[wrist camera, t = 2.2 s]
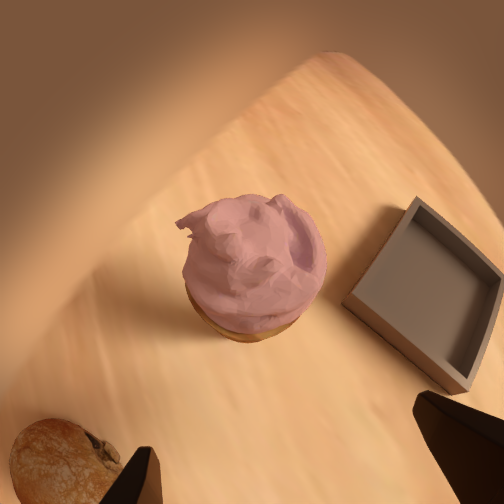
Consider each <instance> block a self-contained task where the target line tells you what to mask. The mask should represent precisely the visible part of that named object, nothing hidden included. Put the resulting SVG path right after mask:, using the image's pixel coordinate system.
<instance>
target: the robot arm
mask: <svg viewBox="0 0 504 504" xmlns="http://www.w3.org/2000/svg"><path fill="white" fill-rule="evenodd" d="M413 416H414V418H415V420H416V422H417V424H418V427H419V429H420V431H421V433H422V435H423V438H424V440H425V442H426V444H427V446H428V448H429V450H430V451H431V453H432V455H433V456H434V458H435V460H436V462H437V463H438V465H439V467H440V468H441V470H442V472H443V474H444V475H445V477H446V479H447V480H448V482H449V484H450V486H451V487H452V489H453V491H454V493H455V495H456V496H457V498H458V500H459V502H460V504H504V420H502V419H500V418H497V417H494V416H492V415H489V414H486V413H484V412H481V411H479V410H476V409H473V408H471V407H468V406H466V405H463V404H461V403H458V402H456V401H453V400H451V399H448V398H446V397H444V396H441V395H439V394H436V393H434V392H432V391H429V390H427V391H424V392H421V393H419V394H418V395H417V398H416V401H415V404H414V406H413ZM99 504H163V498H162V486H161V472H160V463H159V460H158V458H157V456H156V454H155V451H154V449H153V448H152V447H150V446H141V447H139V448H138V449H137V450H136V452H135V453H134V455H133V456H132V457H131V459H130V460H129V462H128V463H127V464H126V466H125V467H124V469H123V470H122V471H121V473H120V474H119V476H118V477H117V478H116V480H115V481H114V483H113V484H112V485H111V487H110V488H109V490H108V491H107V492H106V494H105V495H104V497H103V498H102V499H101V501H100V502H99Z"/></svg>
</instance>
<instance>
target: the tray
mask: <svg viewBox="0 0 504 504" xmlns="http://www.w3.org/2000/svg"><path fill="white" fill-rule="evenodd" d="M503 293H504V274H503V273H502V272H501V271H500V270H499V269H498V268H497V267H496V266H495V265H494V264H493V263H492V262H491V261H490V260H489V259H488V258H487V257H486V256H485V255H484V254H483V253H482V252H481V251H480V250H479V249H477V248H476V247H475V246H474V245H473V244H472V243H471V242H470V241H469V240H468V239H467V238H466V237H464V236H463V235H462V234H461V233H460V232H459V231H458V230H457V229H456V228H454V227H453V226H452V225H451V224H450V223H449V222H447V221H446V220H445V219H444V218H443V217H442V216H440V215H439V214H438V213H437V212H436V211H434V210H433V209H432V208H431V207H430V206H428V205H427V204H426V203H425V202H423V201H422V200H421V199H420V198H418V197H417V196H416V197H415V199H414V200H413V201H412V203H411V204H410V205H409V207H408V208H407V210H406V211H405V213H404V214H403V216H402V217H401V219H400V221H399V222H398V224H397V225H396V227H395V228H394V230H393V231H392V233H391V234H390V236H389V237H388V239H387V240H386V242H385V243H384V245H383V246H382V248H381V249H380V251H379V252H378V254H377V255H376V256H375V258H374V259H373V261H372V262H371V264H370V265H369V266H368V268H367V269H366V271H365V272H364V274H363V275H362V276H361V278H360V279H359V280H358V282H357V283H356V285H355V286H354V287H353V289H352V290H351V291H350V293H349V294H348V295H347V297H346V298H345V299H344V301H343V302H342V303H341V304H342V305H343V306H344V307H346V308H347V309H348V310H349V311H351V312H352V313H353V314H354V315H355V316H357V317H358V318H359V319H360V320H362V321H363V322H364V323H365V324H366V325H368V326H369V327H370V328H371V329H372V330H374V331H375V332H376V333H377V334H379V335H380V336H381V337H382V338H383V339H385V340H386V341H387V342H388V343H389V344H391V345H392V346H393V347H394V348H395V349H397V350H398V351H399V352H400V353H401V354H403V355H404V356H405V357H406V358H407V359H409V360H410V361H411V362H412V363H413V364H415V365H416V366H417V367H418V368H419V369H421V370H422V371H423V372H424V373H425V374H427V375H428V376H429V377H430V378H431V379H433V380H434V381H435V382H436V383H437V384H438V385H440V386H441V387H442V388H443V389H444V390H446V391H447V392H448V393H449V394H450V395H451V396H452V395H457V394H461V393H466V392H469V390H470V388H471V386H472V383H473V381H474V379H475V376H476V374H477V372H478V369H479V367H480V364H481V361H482V359H483V356H484V354H485V351H486V348H487V345H488V343H489V340H490V337H491V334H492V331H493V328H494V324H495V321H496V318H497V315H498V311H499V308H500V304H501V300H502V297H503Z"/></svg>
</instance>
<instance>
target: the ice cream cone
mask: <svg viewBox="0 0 504 504" xmlns="http://www.w3.org/2000/svg"><path fill="white" fill-rule="evenodd" d="M175 224H176V225H177V227H178V228H179V229H180V230H181V229H184V228H185V227H187V228H189V229H190V230H191V231H192V233H193V234H191V235H189V236H187V237H189V238H192V241H191V243H190V245H189V251H188V257H187V260H186V263H185V265H184V268H183V271H182V274H183V278H184V280H185V286H186V291H187V294H188V297H189V300H190V301H191V303H192V305H193V307H194V309H195V310H196V311H197V313H198V314H199V315H200V316H201V317H202V319H203V320H204V321H205V322H207V323H208V324H209V325H210V326H211V327H213V328H214V329H215V330H216V331H217V332H219V333H220V334H221V335H223V336H225V337H226V338H228V339H230V340H233V341H236V342H241V343H254V342H259V341H261V340H264V339H267V338H270V337H272V336H275V335H277V334H279V333H281V332H282V331H284V330H286V329H287V328H289V327H290V326H291V325H292V324H293V323H294V322H295V321H296V320H297V319H298V318H299V317H300V315H301V314H302V313H303V312H304V311H305V310H306V309H307V308H308V307H309V306H310V304H311V303H312V301H313V300H314V299H315V297H316V296H317V294H318V292H319V290H320V289H321V287H322V285H323V282H324V278H325V275H326V268H327V258H326V250H325V246H324V243H323V240H322V238H321V235H320V233H319V231H318V229H317V227H316V225H315V223H314V221H313V219H312V217H311V216H310V215H309V214H308V213H307V212H306V211H304V210H302V209H300V208H298V207H297V206H295V205H294V204H293V203H292V201H291V200H290V199H289V198H288V197H286V196H285V195H284V194H279V195H276V196H275V197H273V198H272V199H268V198H266V197H263V196H260V195H255V194H248V195H242V196H239V197H237V198H234V199H233V198H226V199H221V200H219V201H216V202H213V203H211V204H209V205H207V206H205V207H204V208H203V209H201V210H198V211H195V212H192V213H190V214H188V215H187V216H185V217H184V218H183V219H180V220H178V221H176V222H175Z"/></svg>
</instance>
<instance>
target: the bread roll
mask: <svg viewBox="0 0 504 504" xmlns="http://www.w3.org/2000/svg"><path fill="white" fill-rule="evenodd" d="M119 460H120V456H119V454H118V453H117V451H116V450H115V448H114V447H113V446H112V445H110V444H109V443H108V442H105V444H103V443H102V442H101V441H100V440H99V439H97V438H96V437H94V436H93V435H92V434H90V433H89V432H88V431H86V430H84V429H82V428H81V427H80V426H79V425H75V424H73V423H71V422H69V421H66V420H62V419H45V420H41V421H38V422H35V423H34V424H32V425H30V426H28V427H27V428H26V429H24V430H23V431H22V432H21V433H20V434H19V436H18V437H17V439H16V440H15V443H14V445H13V447H12V451H11V455H10V459H9V465H10V473H11V477H12V481H13V486H14V489H15V492H16V495H17V497H18V499H19V500H20V502H21V504H99V502H100V501H101V499H102V498H103V497H104V495H105V494H106V492H107V491H108V490H109V488H110V487H111V485H112V484H113V483H114V481H115V480H116V478H117V477H118V476H119V474H120V473H121V471H122V470H123V467H122V465H121V463H119Z"/></svg>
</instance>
